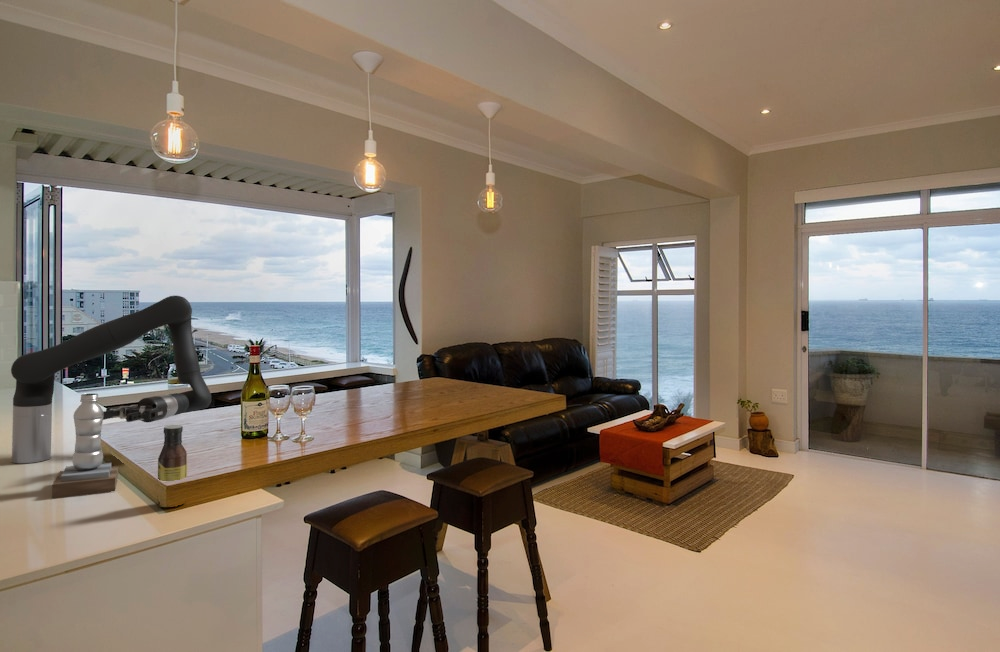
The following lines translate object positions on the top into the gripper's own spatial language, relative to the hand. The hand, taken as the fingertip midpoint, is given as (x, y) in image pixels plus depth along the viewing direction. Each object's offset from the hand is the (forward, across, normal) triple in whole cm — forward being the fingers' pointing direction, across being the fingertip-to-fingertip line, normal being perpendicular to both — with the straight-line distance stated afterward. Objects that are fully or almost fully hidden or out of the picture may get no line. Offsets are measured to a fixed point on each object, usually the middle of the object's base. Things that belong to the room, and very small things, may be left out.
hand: (113, 417), depth 154 cm
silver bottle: (+8, 0, +13) cm, 15 cm away
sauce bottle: (+14, +30, +18) cm, 38 cm away
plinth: (+8, 0, +18) cm, 19 cm away
